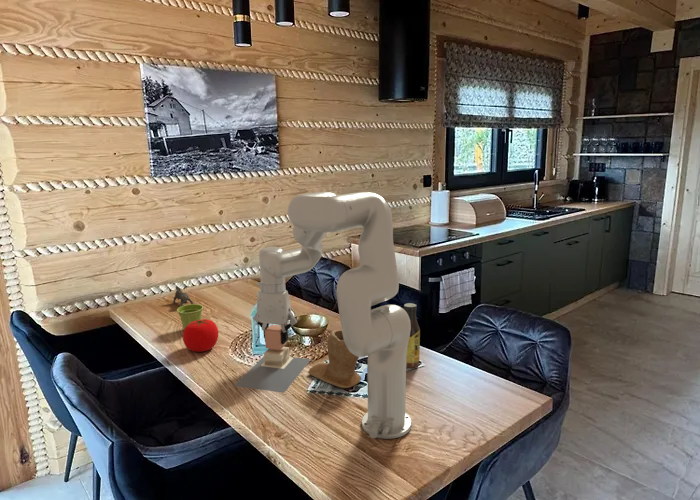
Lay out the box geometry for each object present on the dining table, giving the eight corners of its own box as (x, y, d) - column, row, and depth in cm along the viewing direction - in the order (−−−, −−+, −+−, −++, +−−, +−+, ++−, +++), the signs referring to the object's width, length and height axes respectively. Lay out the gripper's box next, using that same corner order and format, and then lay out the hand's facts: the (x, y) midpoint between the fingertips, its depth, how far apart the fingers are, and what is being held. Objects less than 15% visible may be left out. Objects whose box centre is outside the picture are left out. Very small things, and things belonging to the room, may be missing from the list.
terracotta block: (280, 349, 155) (279, 332, 154) (265, 348, 157) (264, 330, 155) (286, 343, 160) (285, 326, 159) (272, 341, 161) (271, 324, 160)
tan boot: (370, 379, 149) (370, 333, 146) (344, 395, 141) (342, 346, 137) (334, 364, 159) (333, 320, 156) (307, 378, 151) (305, 332, 147)
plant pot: (206, 332, 187) (204, 310, 185) (180, 336, 184) (177, 314, 182) (203, 323, 196) (201, 302, 194) (178, 327, 192) (176, 306, 190)
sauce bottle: (418, 369, 155) (419, 309, 150) (398, 368, 156) (399, 308, 152) (420, 360, 161) (421, 302, 157) (400, 358, 162) (401, 301, 158)
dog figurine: (171, 303, 220) (169, 287, 218) (183, 300, 224) (182, 284, 222) (181, 310, 211) (180, 293, 209) (194, 306, 215) (193, 290, 213)
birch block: (282, 366, 156) (281, 355, 155) (264, 364, 158) (263, 353, 157) (289, 358, 161) (289, 347, 161) (272, 356, 163) (272, 345, 162)
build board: (284, 396, 141) (284, 392, 140) (233, 388, 145) (233, 385, 145) (311, 362, 161) (311, 359, 161) (266, 356, 166) (266, 353, 165)
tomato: (192, 359, 165) (189, 329, 162) (179, 348, 173) (176, 320, 171) (225, 349, 172) (223, 320, 170) (211, 338, 181) (209, 311, 178)
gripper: (242, 288, 153) (246, 343, 157) (294, 292, 148) (296, 349, 152) (253, 281, 160) (257, 334, 164) (303, 285, 155) (305, 339, 159)
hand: (276, 341), depth 158 cm, fingers closed on terracotta block, 4 cm apart
